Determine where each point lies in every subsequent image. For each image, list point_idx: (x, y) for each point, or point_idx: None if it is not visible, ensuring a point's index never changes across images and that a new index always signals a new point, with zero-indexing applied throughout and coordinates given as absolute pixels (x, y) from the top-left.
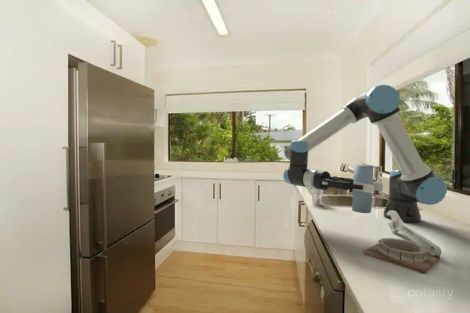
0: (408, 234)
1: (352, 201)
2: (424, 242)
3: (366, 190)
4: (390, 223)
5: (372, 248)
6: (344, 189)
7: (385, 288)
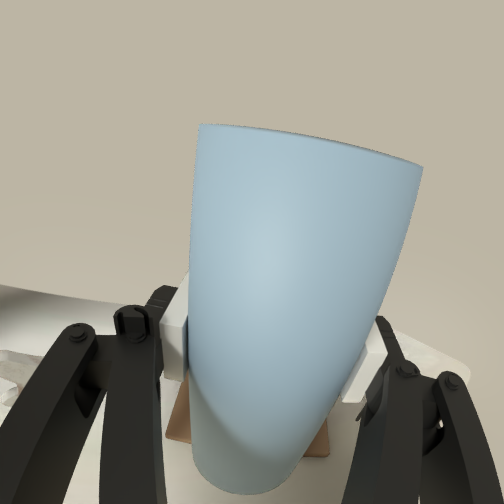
0: None
1: (283, 471)
2: None
3: None
4: (15, 396)
5: None
6: (434, 428)
7: (423, 374)
